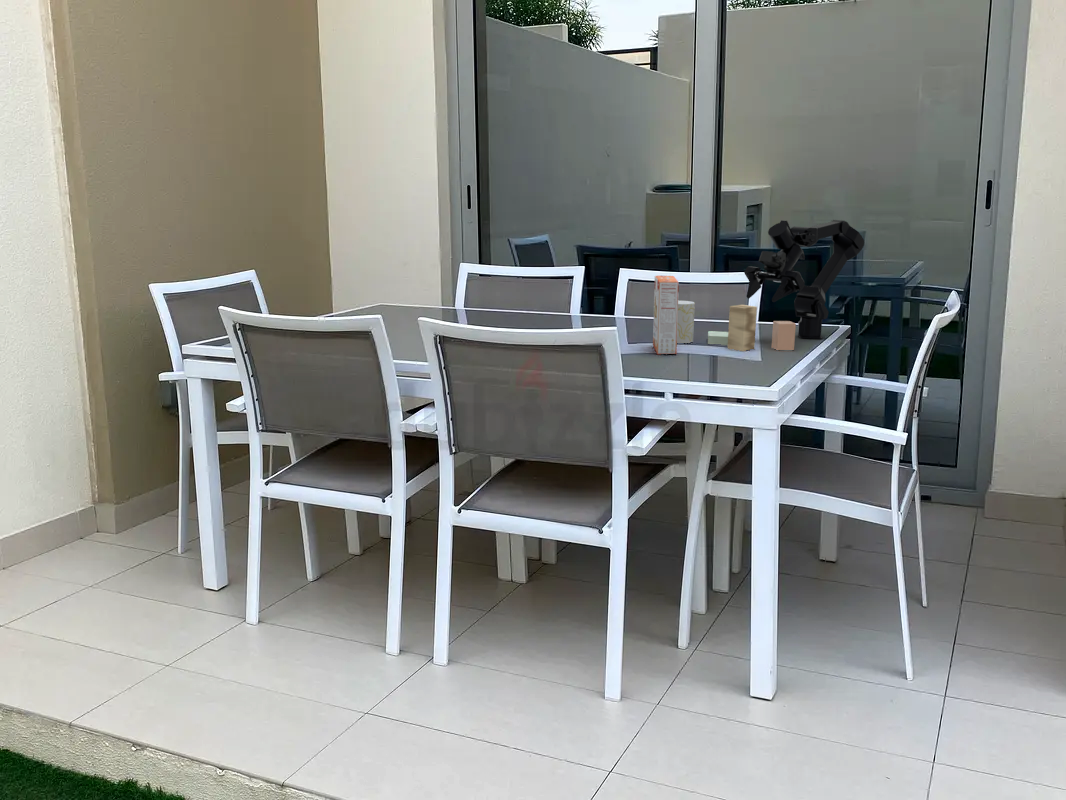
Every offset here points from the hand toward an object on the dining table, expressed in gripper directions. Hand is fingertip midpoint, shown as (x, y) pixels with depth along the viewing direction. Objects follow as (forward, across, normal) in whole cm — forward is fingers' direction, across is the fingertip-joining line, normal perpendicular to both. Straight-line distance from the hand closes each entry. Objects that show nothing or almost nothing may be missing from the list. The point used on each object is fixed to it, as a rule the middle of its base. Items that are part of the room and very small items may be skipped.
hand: (759, 299), depth 303 cm
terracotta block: (+9, +8, +11) cm, 16 cm away
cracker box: (+30, -11, -10) cm, 34 cm away
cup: (+20, -18, 0) cm, 27 cm away
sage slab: (+13, -10, +8) cm, 18 cm away
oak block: (+16, 0, +4) cm, 16 cm away
